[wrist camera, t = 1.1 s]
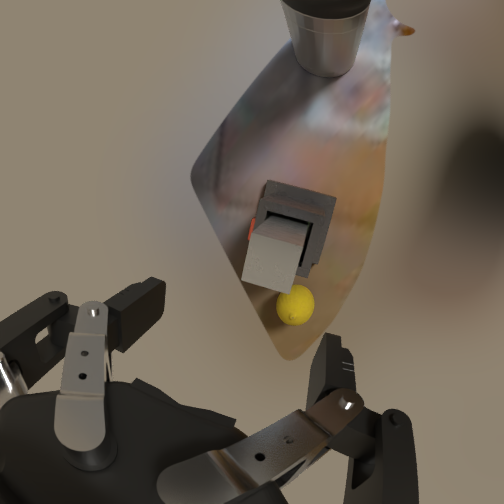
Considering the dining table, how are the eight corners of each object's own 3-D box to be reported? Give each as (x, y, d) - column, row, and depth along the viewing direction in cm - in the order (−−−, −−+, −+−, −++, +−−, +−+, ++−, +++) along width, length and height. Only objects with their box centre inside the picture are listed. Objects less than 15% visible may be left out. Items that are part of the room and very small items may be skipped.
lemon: (285, 311, 45) (278, 337, 37) (276, 281, 44) (267, 303, 36) (318, 305, 43) (317, 331, 36) (310, 273, 42) (308, 295, 34)
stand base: (269, 179, 40) (249, 181, 28) (335, 197, 38) (343, 206, 27) (254, 243, 43) (231, 269, 31) (317, 261, 41) (316, 293, 30)
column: (282, 204, 38) (250, 231, 21) (311, 212, 38) (304, 246, 20) (275, 233, 40) (239, 281, 22) (303, 240, 39) (290, 295, 21)
